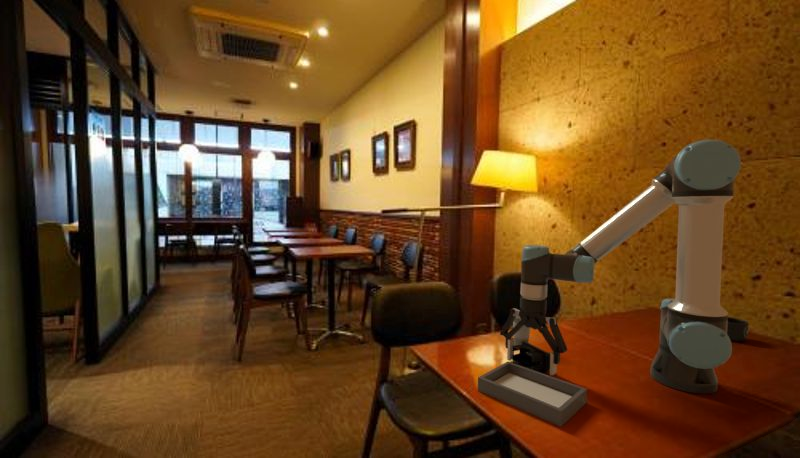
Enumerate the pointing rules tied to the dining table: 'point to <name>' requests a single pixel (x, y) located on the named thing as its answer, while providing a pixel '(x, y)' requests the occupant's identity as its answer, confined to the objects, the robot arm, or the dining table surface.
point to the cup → (520, 332)
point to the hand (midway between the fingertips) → (530, 366)
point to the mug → (737, 329)
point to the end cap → (531, 357)
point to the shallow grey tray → (533, 392)
